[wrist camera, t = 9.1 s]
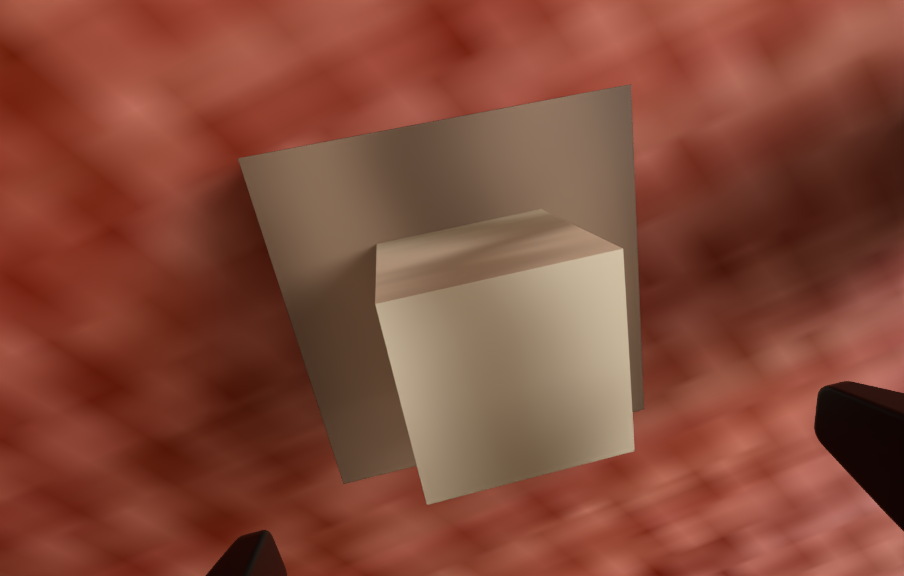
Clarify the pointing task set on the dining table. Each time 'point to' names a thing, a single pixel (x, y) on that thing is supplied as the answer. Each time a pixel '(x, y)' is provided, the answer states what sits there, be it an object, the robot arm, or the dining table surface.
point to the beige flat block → (424, 211)
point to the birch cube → (506, 349)
